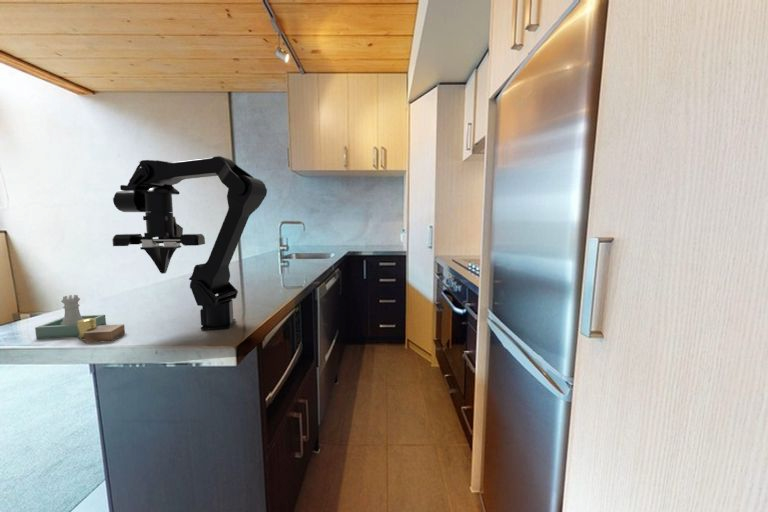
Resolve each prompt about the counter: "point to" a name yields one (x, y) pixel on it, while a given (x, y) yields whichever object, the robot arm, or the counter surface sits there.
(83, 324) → the gold metallic block
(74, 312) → the rook chess piece
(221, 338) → the counter surface
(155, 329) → the counter surface
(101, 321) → the tray
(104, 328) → the flat brown wooden block
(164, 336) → the counter surface
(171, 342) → the counter surface
